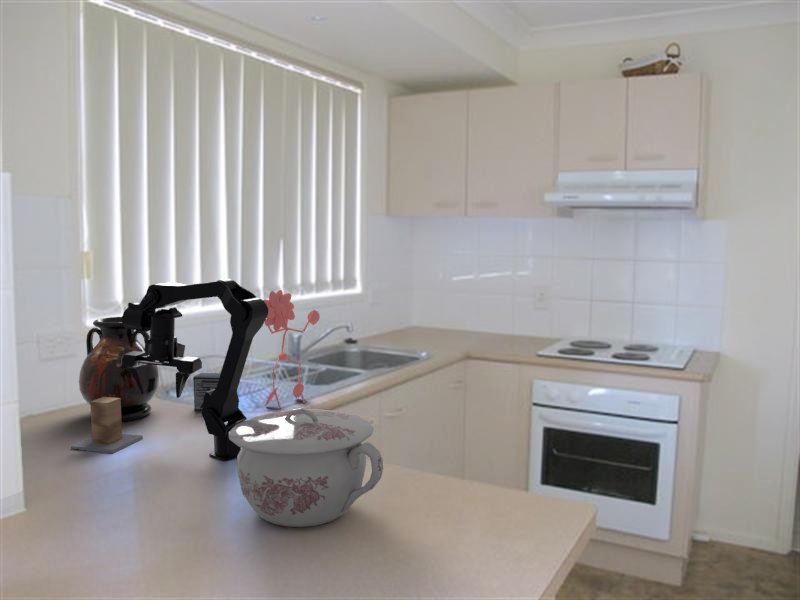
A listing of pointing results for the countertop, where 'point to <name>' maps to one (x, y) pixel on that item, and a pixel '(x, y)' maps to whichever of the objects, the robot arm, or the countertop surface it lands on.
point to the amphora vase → (116, 368)
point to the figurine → (279, 317)
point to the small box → (203, 387)
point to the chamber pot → (304, 464)
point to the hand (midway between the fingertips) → (161, 395)
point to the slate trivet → (107, 448)
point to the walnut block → (106, 420)
